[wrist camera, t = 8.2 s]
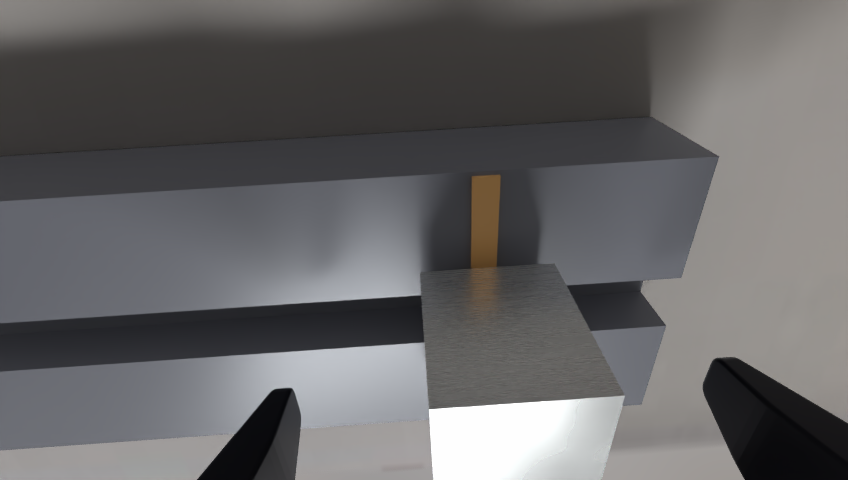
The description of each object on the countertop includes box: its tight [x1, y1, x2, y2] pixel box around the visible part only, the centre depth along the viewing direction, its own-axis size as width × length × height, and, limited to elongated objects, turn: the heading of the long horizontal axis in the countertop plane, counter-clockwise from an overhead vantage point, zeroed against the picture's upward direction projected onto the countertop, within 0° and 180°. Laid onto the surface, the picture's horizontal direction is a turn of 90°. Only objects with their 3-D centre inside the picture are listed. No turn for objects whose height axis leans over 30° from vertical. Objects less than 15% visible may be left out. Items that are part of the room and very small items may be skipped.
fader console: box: [0, 117, 719, 450], centre depth 13 cm, size 20×8×3 cm, turn 93°
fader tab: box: [420, 263, 625, 480], centre depth 10 cm, size 3×4×6 cm
